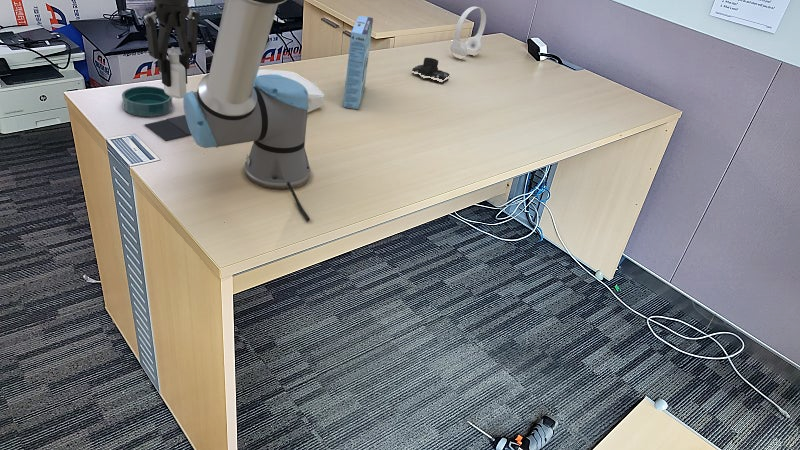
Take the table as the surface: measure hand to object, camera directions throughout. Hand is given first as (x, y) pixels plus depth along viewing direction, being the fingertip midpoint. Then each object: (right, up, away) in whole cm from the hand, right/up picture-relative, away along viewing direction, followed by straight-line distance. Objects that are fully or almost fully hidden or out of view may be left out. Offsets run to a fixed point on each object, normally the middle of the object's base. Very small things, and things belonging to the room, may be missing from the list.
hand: (174, 83), depth 148 cm
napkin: (-2, -10, +7) cm, 12 cm away
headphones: (+81, +33, +97) cm, 131 cm away
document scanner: (+16, 0, +27) cm, 32 cm away
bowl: (-12, -3, +13) cm, 19 cm away
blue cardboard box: (+41, +6, +43) cm, 60 cm away
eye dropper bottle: (-1, -3, +2) cm, 3 cm away
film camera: (+66, +18, +70) cm, 98 cm away
